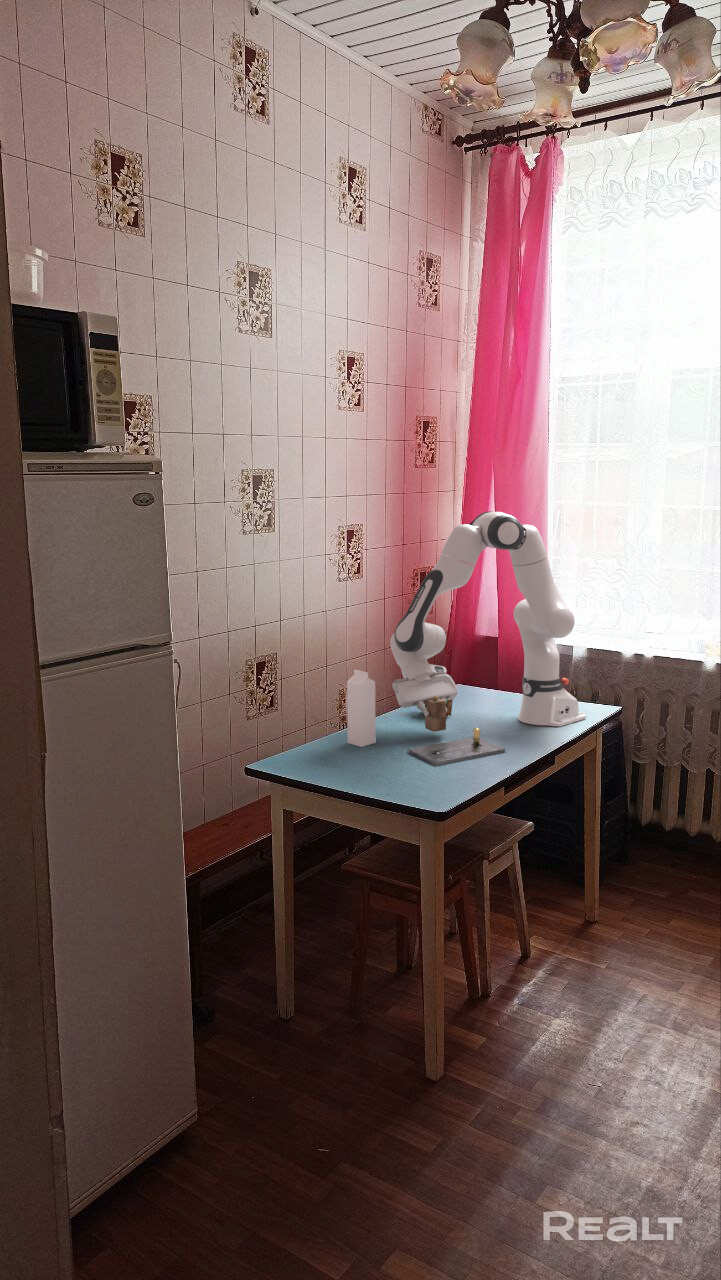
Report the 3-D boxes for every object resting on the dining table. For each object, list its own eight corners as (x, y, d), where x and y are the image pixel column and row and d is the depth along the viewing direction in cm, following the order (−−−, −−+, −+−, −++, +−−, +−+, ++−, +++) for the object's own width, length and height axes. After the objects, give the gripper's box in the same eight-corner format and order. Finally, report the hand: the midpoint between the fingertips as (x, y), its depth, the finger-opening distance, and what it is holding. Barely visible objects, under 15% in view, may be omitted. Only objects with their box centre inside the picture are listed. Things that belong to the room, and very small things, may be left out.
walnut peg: (437, 725, 276) (437, 693, 274) (445, 729, 272) (445, 696, 270) (425, 728, 273) (425, 696, 271) (433, 731, 270) (433, 699, 268)
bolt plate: (475, 739, 269) (476, 720, 268) (505, 752, 257) (505, 732, 256) (408, 752, 258) (408, 732, 257) (435, 766, 246) (435, 745, 245)
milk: (362, 739, 272) (361, 667, 268) (375, 743, 267) (375, 671, 263) (347, 743, 268) (346, 670, 264) (360, 747, 263) (360, 674, 259)
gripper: (393, 675, 270) (411, 713, 264) (449, 666, 280) (468, 703, 274) (386, 686, 275) (403, 724, 269) (441, 677, 285) (459, 714, 278)
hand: (436, 713), depth 271 cm, fingers closed on walnut peg, 4 cm apart
